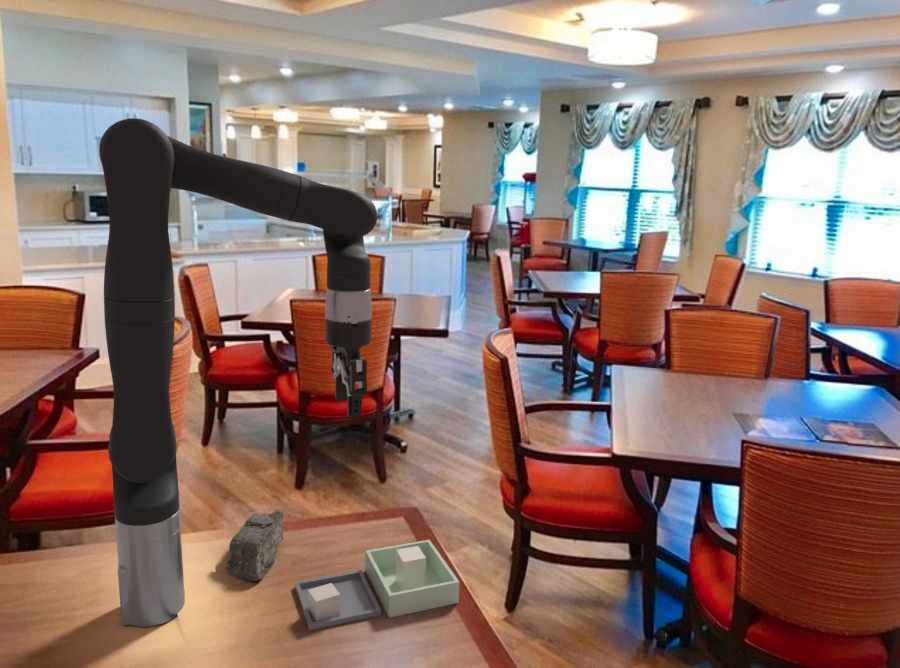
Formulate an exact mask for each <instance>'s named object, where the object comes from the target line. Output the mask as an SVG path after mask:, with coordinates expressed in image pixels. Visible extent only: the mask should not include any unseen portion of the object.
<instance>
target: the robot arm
mask: <svg viewBox="0 0 900 668" xmlns="http://www.w3.org/2000/svg"><path fill="white" fill-rule="evenodd" d="M98 147H99V148H98V155H99V159H100V163H101V166H102V167H101V168H102V171H103V177H104V183H105V189H106V190H105V191H106V198H107V199H106V200H107V206H108V218H109V227H108V228H109V231H108V240H107V248H106V255H105V260H104V261H105V264H104V272H103V273H104V274H103V275H104V276H103V311H104V314H103V316H104V317H103V318H104V327H105V338H106V347H107V355H108V362H109V369H110V374H111V379H112V387H113V390H112V391H113V407H112V411H113V412H112V424H111V428H110V430H109V440H108V451H107V452H108V458H109V461H110V464H111V470H112V471H111V472H112V473H111V474H112V493H113V494H112V495H113V496H112V497H113V499H112V500H113V502H112V504H113V512H114V523H115V537H116V548H117V549H116V551H117V561H118V563H117V580H118V591H119V592H118V593H119V605H120V618H121V619H120V621H121V626H123V627H125V626H135V627H138V628H139V627H144V628H147V627H155V626H160V625H162V624H165V623H167V622H170V621H172V620H173V619H175V618H177V616H178V614H179V613H180V612H181V611H182V609H184V607H185V600H186V599H185V595H186V593H185V581H184V580H185V577H184V561H183V549H182V548H183V547H182V546H183V545H182V529H181V512H180V511H181V510H180V491H179V478H178V465H177V462H178V461H177V439H176V432H175V431H176V430H175V425H174V423H173V419H172V411H171V400H170V382H171V372H172V364H173V356H174V355H173V354H174V344H175V343H174V341H175V323H176V314H175V313H176V309H175V308H176V305H175V304H176V300H175V299H176V297H175V295H176V294H175V280H174V279H175V277H174V268H173V266H174V265H173V257H172V250H171V244H170V236H169V235H170V234H169V212H170V201H171V200H170V199H171V190H172V189H174V190H181V191H186V192H190V193H191V192H192V193H196V194H200V195H204V196H207V197H210V198H213V199H217V200H218V201H219V200H220V201H223V202H226V203H228V204H232V205H234V206H237V207H240V208H243V209H246V210H250V211H251V212H254V213H255V212H256V213H259V214H262V215H266V216H268V217H269V216H270V217H273V218H277V219H281V220H284V221H288V222H293V223H299V224H305V225H310V226H313V227H316V228H319V229H321V230H322V232H323V233H322V234H323V241H324V248H325V252H326V258H327V259H326V261H327V263H326V295H325V308H324V309H325V317H324V318H325V322H324V323H325V324H324V325H325V327H324V328H325V335H324V336H325V339H324V340H325V342H326V344H327V345H329V346H331V368H330V371H331V373H332V374H333V379H334V380H335V381H334V384H335V389H334V390H335V397H334V398H335V401H337V402H346V401H347V408H346V409H347V417H348V418H350V419H359V418H361V417H362V413H363V410H362V408H363V407H362V406H363V404H362V403H363V398H362V397H363V396H365V397H366V396H367V394H368V390H367V389H368V388H367V387H368V385H367V384H368V382H367V381H368V379H367V377H368V375H367V373H368V371H367V366H368V365H367V364H368V361H367V359H366V358H364V357H363V355H361V349H362V348H363V347H366V346H368V345H370V344H371V342H372V322H373V320H372V317H373V316H372V315H373V314H372V313H373V309H372V307H373V301H372V293H371V291H372V289H371V274H372V273H371V272H372V271H371V270H372V269H371V268H372V266H371V259H370V257H369V255H368V254H367V252H366V250H365V243H364V237H365V236H367V235H368V234H370V233H371V232H372V231H373V230H374V229H375V226H376V224H377V221H378V211H377V210H378V209H377V208H376V206H375V204H374V202H373V201H372V199H370V198H369V197H368V196H367V195H365V194H363V193H360V192H356V191H354V190H350V189H345V188H343V187H336V186H333V185H329V184H323V183H319V182H316V181H314V180H311V179H310V178H306V177H304V176H302V175H298V174H295V173H291V172H288V171H285V170H281V169H278V168H275V167H271V166H267V165H263V164H258V163H254V162H251V161H244V160H240V159H235V158H232V157H229V156H228V157H227V156H223V155H220V154H219V155H218V154H216V153H212V152H208V151H206V150H203V149H200V148H198V147H194V146H191V145H189V144H186V143H184V142H182V141H180V140H177V139H175V138H174V137H171V136H169V135H167V134H166V133H165V132H164V130H162V128H160V126H157V124H155V123H153V122H151V121H148V120H146V119H143V118H137V117H135V118H134V117H131V118H129V117H128V118H125V119H121V120H118V121H116V122H115V123H113V124H111V125H110V126H108V127H107V129H106V130H105V131H104V133H103V135H102V136H101V139H100V141H99V146H98ZM356 384H357V387H358V388H356Z"/></svg>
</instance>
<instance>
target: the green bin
mask: <svg viewBox="0 0 900 668" xmlns="http://www.w3.org/2000/svg"><path fill="white" fill-rule="evenodd" d="M415 546H419V548H420V549H421V551H422V553H423V554H424V556H425V557H426V572H425V587H420V588H415V589H410V590H405V591H401V590H400V589H399V587H398V585H397V583H396V581H395V575H396V550H397V549H403V548H409V547H415ZM364 557H365V560H364V561H365V562H364V564H365V568H364V569H365V574H366V575H367V577H368V579H369V581H370V583H371V585H372V587H373V589H374V591H375V593H376V595H377V597H378V599H379V600H380V603H381V605H382V607H383V609H384V611H385V613H386V614H387V617H388V618H389V619H390V618H394V617H401V616H405V615H409V614H413V613H418V612H423V611H426V610H427V611H429V610H432V609H436V608H442V607H445V606H447V607H448V606H451V605H456V604H460V603H459V599H460V598H459V597H460V581H459V579H458V578H457V576H456V575H455V574H454V572H453V571H452V569H451V568H450V567H449V565H448V564H447V562H446V561H445V559H444V558H443V556H442V555H441V554H440V552H439V551H438V550H437V548H436V547H435V545H434V544H433V542H432V541H431V539H425V540H419V541H415V542H409V543H402V544H397V545H392V546H385V547H379V548H375V549H368V550H365V556H364Z"/></svg>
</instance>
